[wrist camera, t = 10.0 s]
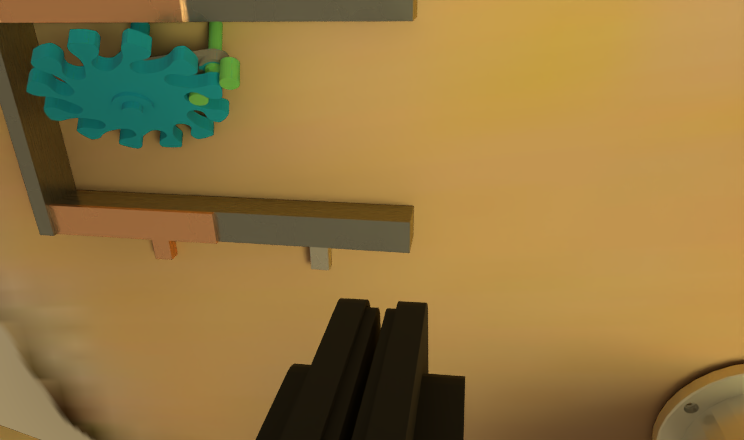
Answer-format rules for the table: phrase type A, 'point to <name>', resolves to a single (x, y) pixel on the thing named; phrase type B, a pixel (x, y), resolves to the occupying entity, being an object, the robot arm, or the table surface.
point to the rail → (167, 211)
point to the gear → (135, 86)
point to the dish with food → (13, 435)
